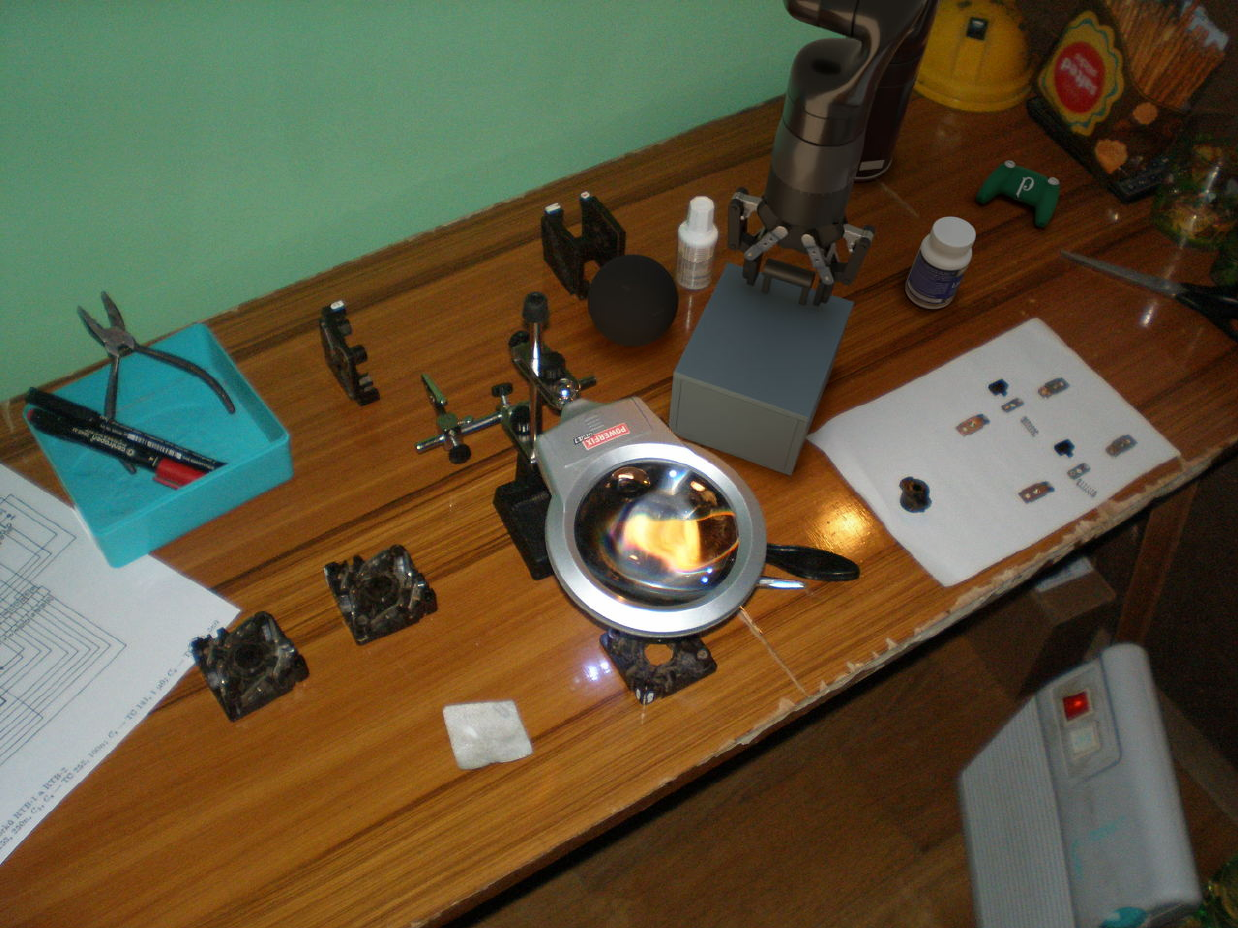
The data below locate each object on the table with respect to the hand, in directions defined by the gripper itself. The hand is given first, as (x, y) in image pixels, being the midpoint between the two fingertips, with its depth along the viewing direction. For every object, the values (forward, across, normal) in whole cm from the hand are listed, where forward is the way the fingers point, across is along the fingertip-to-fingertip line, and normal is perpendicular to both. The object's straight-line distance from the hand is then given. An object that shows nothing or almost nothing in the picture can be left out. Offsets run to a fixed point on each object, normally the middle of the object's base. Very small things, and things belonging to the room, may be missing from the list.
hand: (785, 289), depth 100 cm
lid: (+2, 0, +6) cm, 6 cm away
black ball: (+12, +16, +2) cm, 20 cm away
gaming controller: (+12, -21, -36) cm, 43 cm away
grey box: (+12, 0, +6) cm, 13 cm away
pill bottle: (+12, -14, -17) cm, 25 cm away
